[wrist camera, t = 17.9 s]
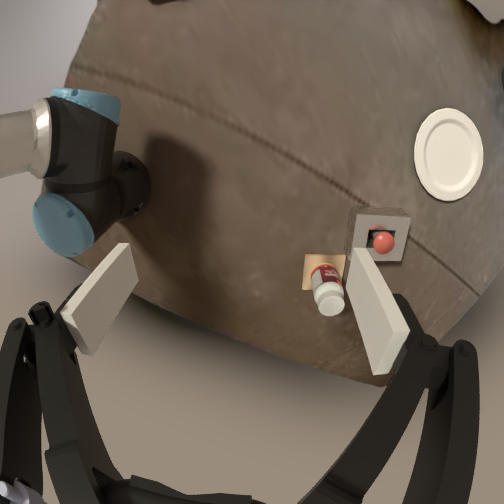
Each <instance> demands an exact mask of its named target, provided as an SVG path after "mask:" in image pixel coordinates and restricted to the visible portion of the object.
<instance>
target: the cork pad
mask: <svg viewBox="0 0 504 504" xmlns="http://www.w3.org/2000/svg"><path fill="white" fill-rule="evenodd" d="M345 259H346V255H311V254H305V263H304V274H303V284H302V290H313V288H312V283H311V277H310V275H311V271H312V269H313V268H314V267H315V266H316V265H318V264H321V263H329V264H332V265H333V266H334V267H335V268H336V270H337V272H338V275H339V278H340V281H341V282H342V276H343V271H344V265H345Z"/></svg>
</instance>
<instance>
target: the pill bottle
mask: <svg viewBox="0 0 504 504" xmlns="http://www.w3.org/2000/svg"><path fill="white" fill-rule="evenodd" d="M310 277H311V283H312V288H313V294H314V299H315V302H316V303H317V304H318V308H319V311H320V312H321V314H323V315H325V316H334V315H337V314H339V313H340V312H341V311H342V310H343V308H344V305H345V303H344V299H343V297H344V290H343V287H342V284H341V281H340V278H339V275H338V272H337V270H336V268H335V267H334V266H333V265H332V264H329V263H321V264H318V265H316V266H315V267H314V268H313V269H312V271H311V275H310Z"/></svg>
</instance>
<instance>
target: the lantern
mask: <svg viewBox="0 0 504 504" xmlns="http://www.w3.org/2000/svg"><path fill="white" fill-rule="evenodd" d="M502 82H503V88H504V66H503V70H502Z"/></svg>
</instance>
